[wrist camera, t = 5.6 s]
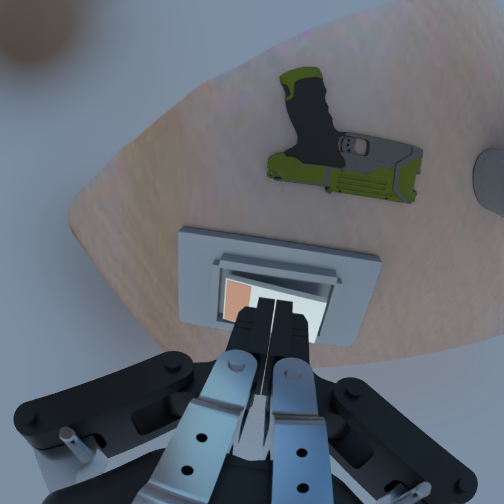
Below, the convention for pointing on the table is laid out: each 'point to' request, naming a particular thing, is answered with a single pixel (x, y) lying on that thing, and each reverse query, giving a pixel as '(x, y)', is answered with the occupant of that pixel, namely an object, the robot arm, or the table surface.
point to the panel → (274, 278)
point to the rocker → (249, 291)
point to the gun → (327, 151)
